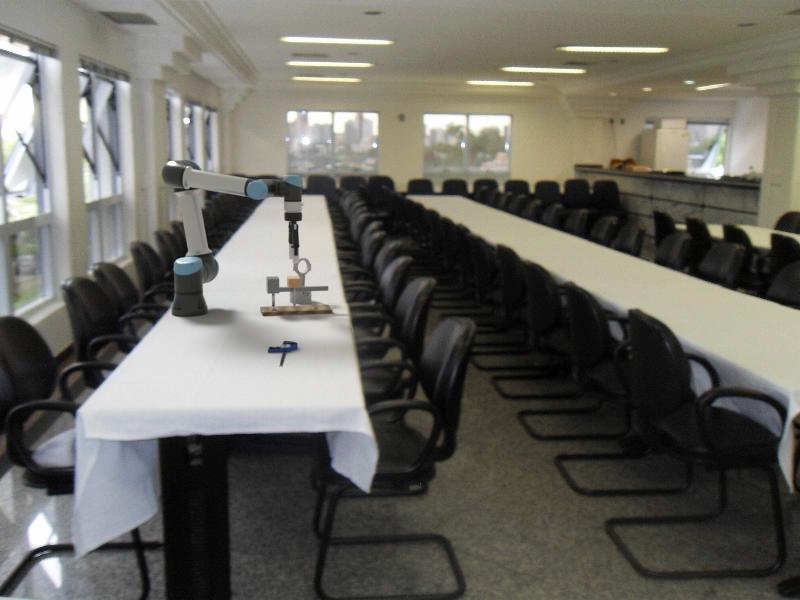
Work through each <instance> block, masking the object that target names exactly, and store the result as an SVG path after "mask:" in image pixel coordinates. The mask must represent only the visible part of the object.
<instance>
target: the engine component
mask: <svg viewBox="0 0 800 600" xmlns="http://www.w3.org/2000/svg"><path fill="white" fill-rule="evenodd" d="M302 261H303V262H305V263H306V268H305V270H304V271H302V272H301V271H300V270H299V264H300V263H301V262H302ZM292 264H293V265H292V266H293V267H292V271H293V272H295V273H296V274H297V276H299V277H300V287H305V286H306V275H307V274H308V273H309V272H310V271H312V263H311V262H310V260H309V259H308V258H305V257H299V263H292ZM289 303H290V304H293V292H289ZM310 303H312V291H298V292H296V305H303V304H304V305H305V304H310Z"/></svg>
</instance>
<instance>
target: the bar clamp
mask: <svg viewBox="0 0 800 600" xmlns="http://www.w3.org/2000/svg"><path fill="white" fill-rule="evenodd" d="M297 349H298V342H295V341H292V340H284V341H283V342H282V343H281V344H280V345H279V346H269V347H268V348H267V353H270V354H275V353H276V354H277V353H282V354H281V358H280V363H279V368H280V367H283V365H284V360H285V356H286V353H291V352H294V351H296V350H297Z"/></svg>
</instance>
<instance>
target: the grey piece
mask: <svg viewBox="0 0 800 600" xmlns="http://www.w3.org/2000/svg"><path fill="white" fill-rule="evenodd" d="M265 279H266V280H265V284H266V285H265V288H266V289H265V290H266V293H267V294H268V295H271V306H273V310H274V306H276V297H275V296H276V294H280V293H290V292H293V288H288V286H280V278H279V277H278V276H277V275H275V276H266V277H265ZM298 291H311V292H324V291H325V292H329V285H316V286H315V285H313V286H307V285H305V287H300V288H296V292H298Z"/></svg>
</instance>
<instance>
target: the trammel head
mask: <svg viewBox="0 0 800 600" xmlns="http://www.w3.org/2000/svg"><path fill="white" fill-rule="evenodd" d="M286 287H288V288H293V303H292V306H294V308H295V306H297V304H296V288H300V277H299V276H298V275H288V276H286Z"/></svg>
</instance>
